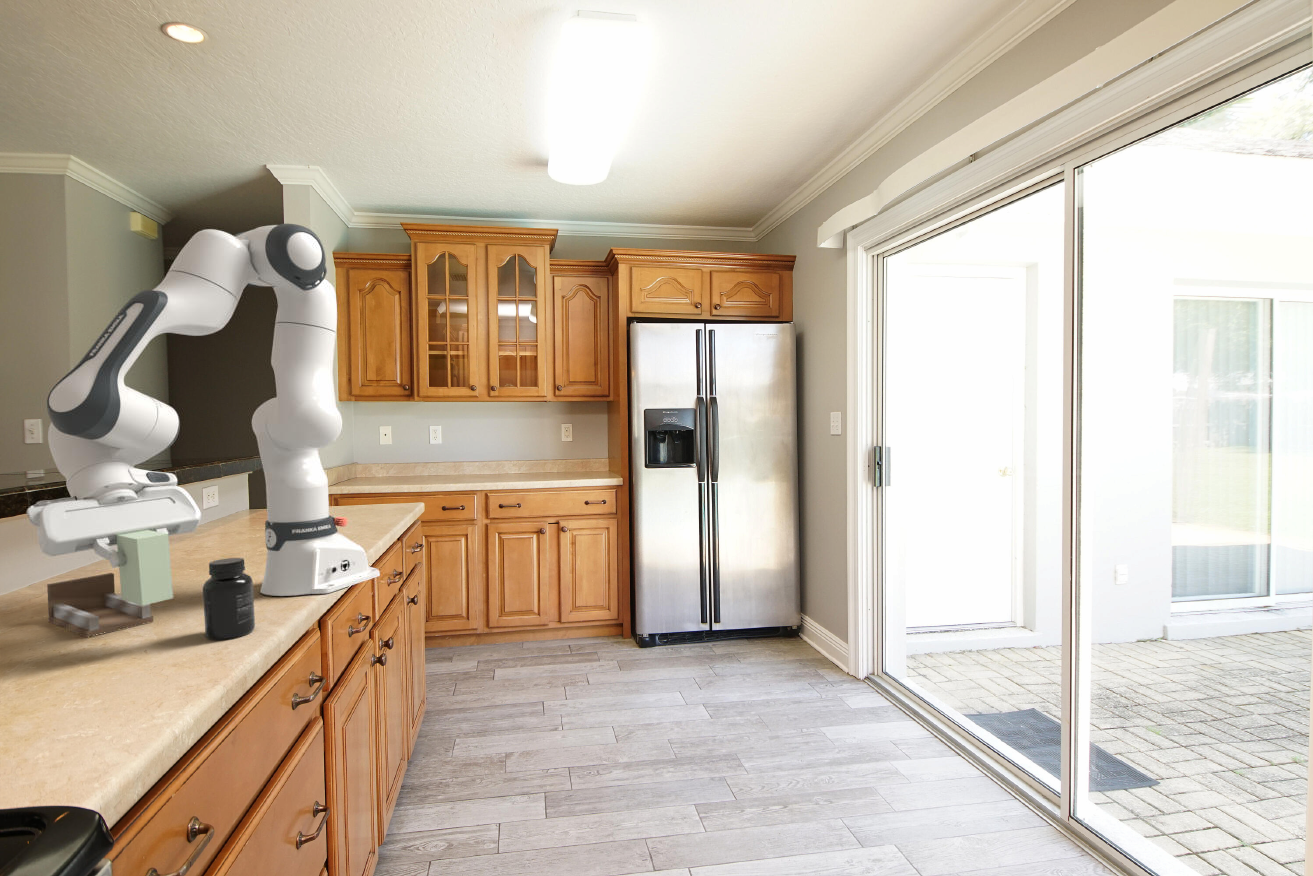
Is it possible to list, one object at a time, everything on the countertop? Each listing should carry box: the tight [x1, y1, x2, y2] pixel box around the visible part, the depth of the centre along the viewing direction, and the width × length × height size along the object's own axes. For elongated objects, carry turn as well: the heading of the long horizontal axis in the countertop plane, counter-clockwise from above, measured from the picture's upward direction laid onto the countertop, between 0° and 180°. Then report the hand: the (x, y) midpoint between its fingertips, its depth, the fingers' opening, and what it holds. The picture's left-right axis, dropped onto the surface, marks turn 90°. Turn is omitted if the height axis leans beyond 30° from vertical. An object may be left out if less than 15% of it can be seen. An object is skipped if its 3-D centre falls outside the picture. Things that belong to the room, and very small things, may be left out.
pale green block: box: [116, 530, 174, 606], centre depth 101 cm, size 7×4×10 cm, turn 59°
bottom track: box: [46, 572, 154, 638], centre depth 113 cm, size 16×9×6 cm, turn 59°
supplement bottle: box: [202, 557, 256, 641], centre depth 107 cm, size 7×7×12 cm
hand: (141, 560), depth 101 cm, fingers closed on pale green block, 4 cm apart
